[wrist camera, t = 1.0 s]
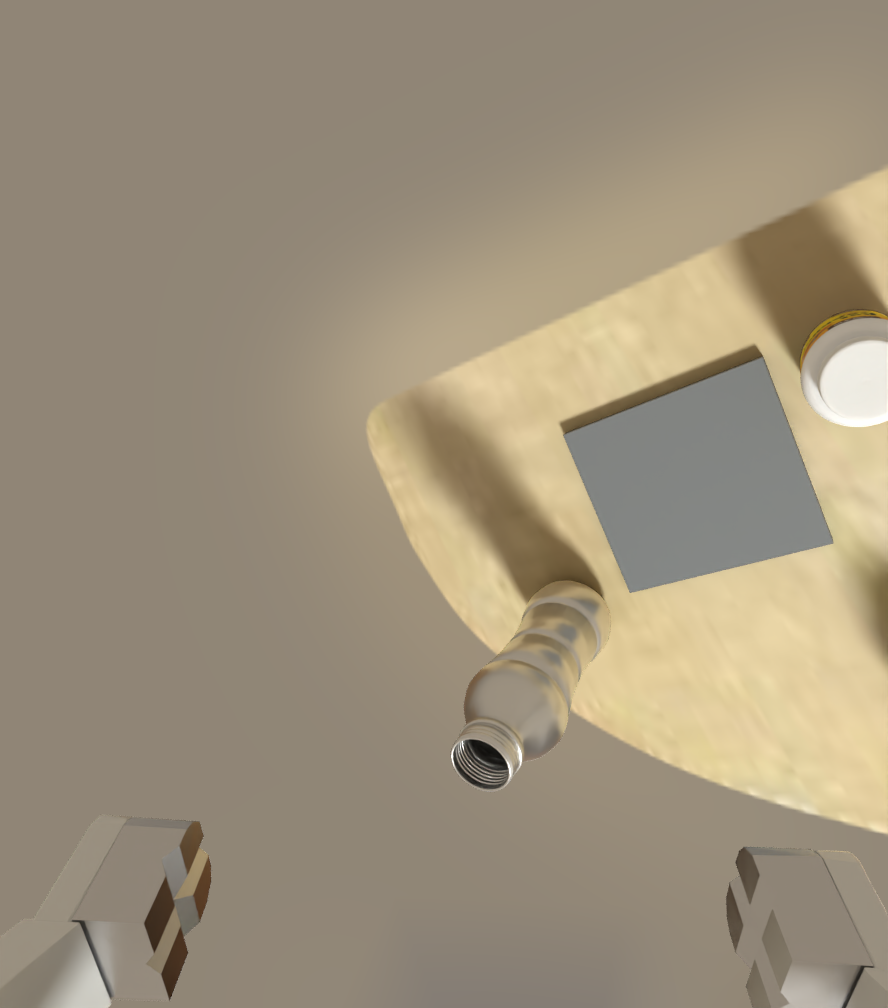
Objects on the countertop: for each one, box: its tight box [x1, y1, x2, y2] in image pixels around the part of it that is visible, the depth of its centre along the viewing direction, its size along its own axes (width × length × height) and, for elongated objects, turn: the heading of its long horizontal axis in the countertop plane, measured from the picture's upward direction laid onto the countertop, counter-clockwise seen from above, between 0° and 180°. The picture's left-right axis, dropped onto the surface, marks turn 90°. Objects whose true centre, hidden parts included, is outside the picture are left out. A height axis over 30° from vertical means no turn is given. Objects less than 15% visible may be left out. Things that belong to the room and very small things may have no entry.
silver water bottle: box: [450, 580, 611, 792], centre depth 46 cm, size 6×7×20 cm
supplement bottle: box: [800, 309, 888, 427], centre depth 37 cm, size 6×6×10 cm
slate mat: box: [563, 356, 833, 593], centre depth 48 cm, size 14×13×1 cm
